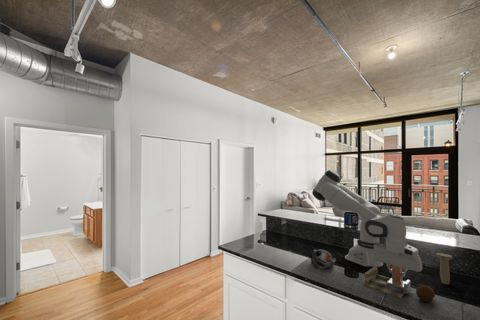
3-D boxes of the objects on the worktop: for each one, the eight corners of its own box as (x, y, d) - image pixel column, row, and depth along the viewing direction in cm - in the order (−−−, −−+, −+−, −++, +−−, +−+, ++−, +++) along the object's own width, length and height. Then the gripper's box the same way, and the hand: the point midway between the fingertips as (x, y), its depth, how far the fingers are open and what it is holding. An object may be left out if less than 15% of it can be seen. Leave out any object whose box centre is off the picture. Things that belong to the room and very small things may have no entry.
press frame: (365, 285, 120) (364, 273, 120) (374, 277, 128) (374, 266, 128) (401, 297, 107) (400, 284, 108) (408, 288, 116) (408, 276, 116)
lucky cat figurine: (336, 264, 146) (340, 249, 140) (330, 278, 137) (334, 262, 131) (313, 253, 154) (316, 238, 148) (306, 265, 146) (309, 250, 140)
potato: (436, 298, 107) (435, 283, 108) (434, 308, 99) (433, 292, 99) (418, 292, 112) (417, 278, 112) (415, 302, 103) (414, 287, 104)
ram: (387, 287, 114) (386, 263, 115) (392, 283, 119) (391, 260, 120) (406, 294, 108) (405, 268, 109) (411, 289, 113) (410, 264, 113)
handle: (437, 279, 125) (436, 252, 126) (453, 284, 120) (452, 255, 121) (437, 282, 122) (435, 254, 123) (453, 287, 117) (451, 257, 118)
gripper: (371, 243, 121) (372, 269, 120) (419, 253, 105) (420, 284, 104) (375, 240, 125) (376, 266, 124) (422, 250, 109) (423, 280, 109)
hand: (397, 274), depth 114 cm, fingers closed on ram, 4 cm apart
